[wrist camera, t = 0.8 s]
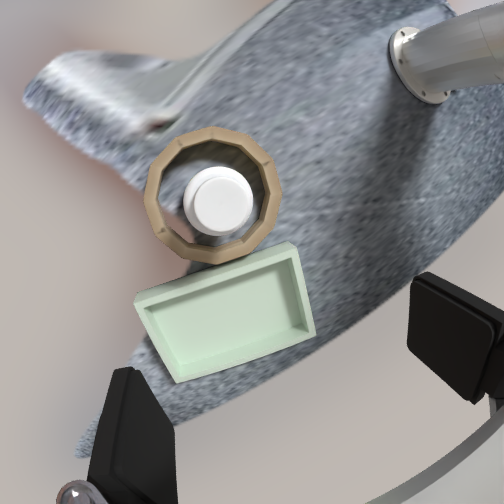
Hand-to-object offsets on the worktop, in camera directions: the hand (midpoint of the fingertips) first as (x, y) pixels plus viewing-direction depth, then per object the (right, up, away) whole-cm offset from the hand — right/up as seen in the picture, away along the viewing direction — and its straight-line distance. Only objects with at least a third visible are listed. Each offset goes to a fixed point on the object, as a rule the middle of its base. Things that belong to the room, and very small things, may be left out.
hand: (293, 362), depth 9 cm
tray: (-4, -4, +25) cm, 26 cm away
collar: (-5, +9, +21) cm, 24 cm away
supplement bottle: (-5, +9, +21) cm, 24 cm away
